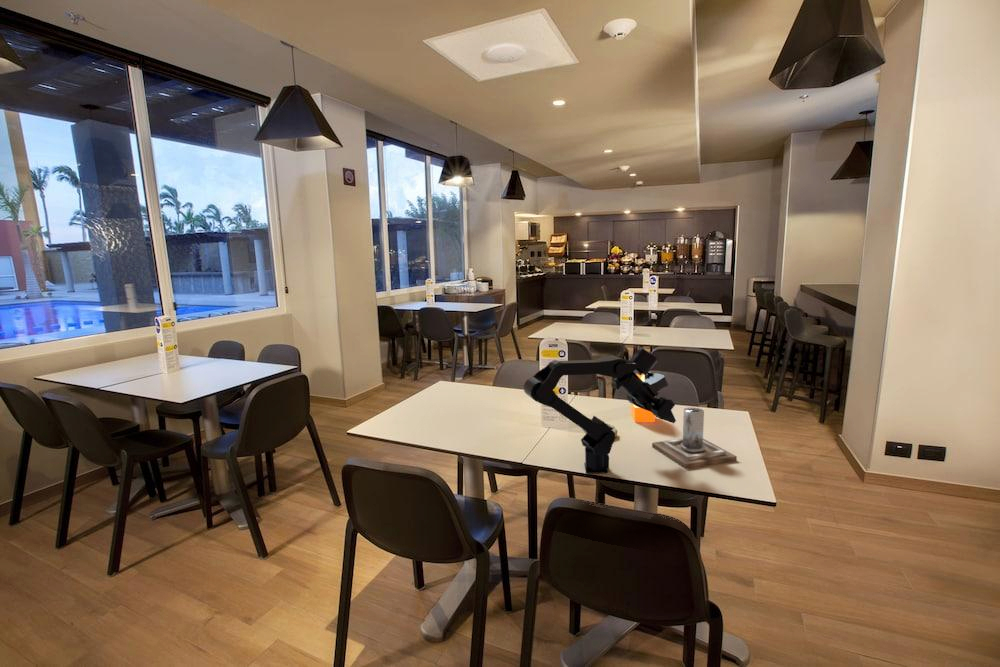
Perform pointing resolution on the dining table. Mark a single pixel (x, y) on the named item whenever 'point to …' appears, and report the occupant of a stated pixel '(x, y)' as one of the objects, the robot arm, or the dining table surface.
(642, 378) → the orange juice
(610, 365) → the robot arm
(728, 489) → the dining table surface
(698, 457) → the bronze base
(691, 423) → the silver metal cup
